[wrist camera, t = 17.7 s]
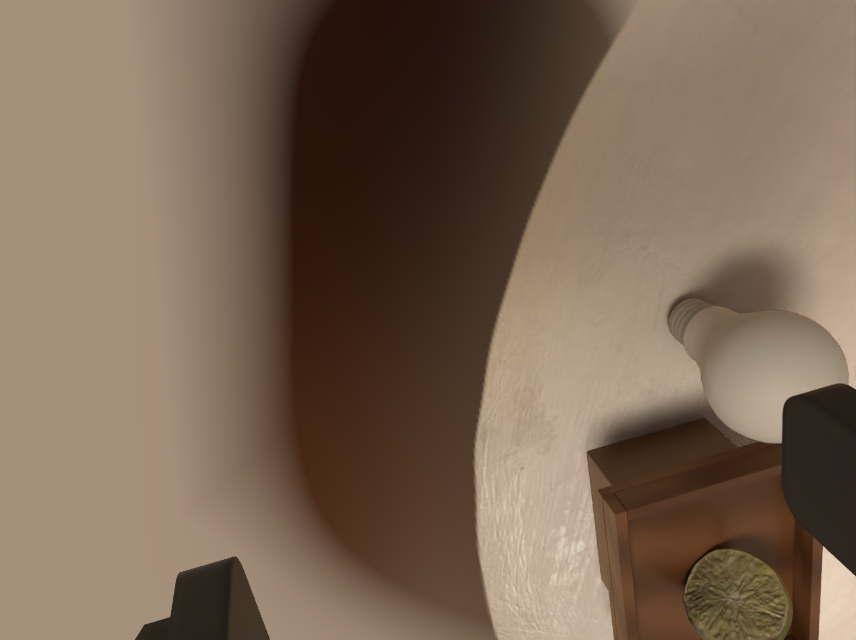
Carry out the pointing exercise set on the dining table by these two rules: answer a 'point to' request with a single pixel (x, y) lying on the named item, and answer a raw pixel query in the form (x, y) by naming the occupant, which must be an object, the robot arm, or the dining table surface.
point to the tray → (693, 526)
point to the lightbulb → (756, 362)
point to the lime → (737, 598)
